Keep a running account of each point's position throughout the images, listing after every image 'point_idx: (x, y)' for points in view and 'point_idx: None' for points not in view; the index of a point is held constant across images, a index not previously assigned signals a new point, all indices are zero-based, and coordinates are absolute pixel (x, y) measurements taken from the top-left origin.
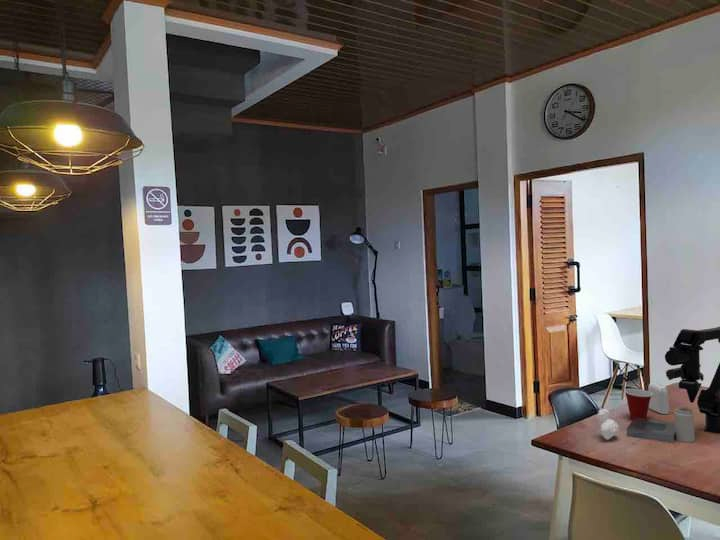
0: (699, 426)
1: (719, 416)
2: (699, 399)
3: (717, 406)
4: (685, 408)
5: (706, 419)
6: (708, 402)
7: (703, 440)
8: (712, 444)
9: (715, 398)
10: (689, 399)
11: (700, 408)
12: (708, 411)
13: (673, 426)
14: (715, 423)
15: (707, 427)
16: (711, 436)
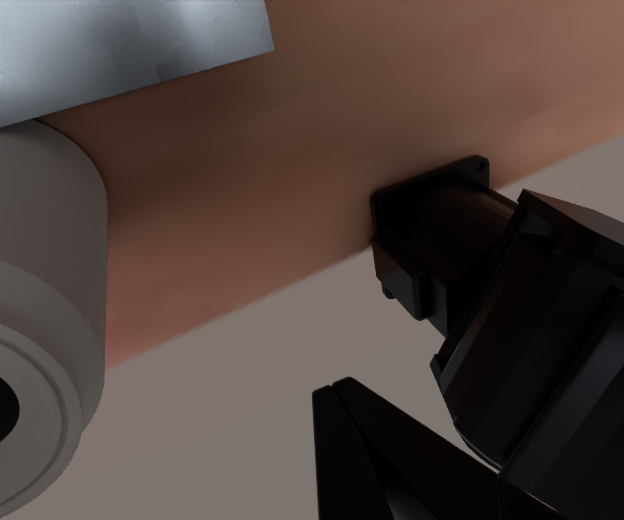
0: (472, 116)
1: (435, 375)
2: (603, 305)
3: (479, 453)
4: (64, 385)
5: (451, 236)
6: (523, 408)
7: (154, 286)
8: (116, 359)
9: (561, 510)
10: (315, 437)
11: (510, 251)
12: (473, 316)
13: (105, 42)
14: (406, 304)
15: (406, 217)
16: (292, 273)
